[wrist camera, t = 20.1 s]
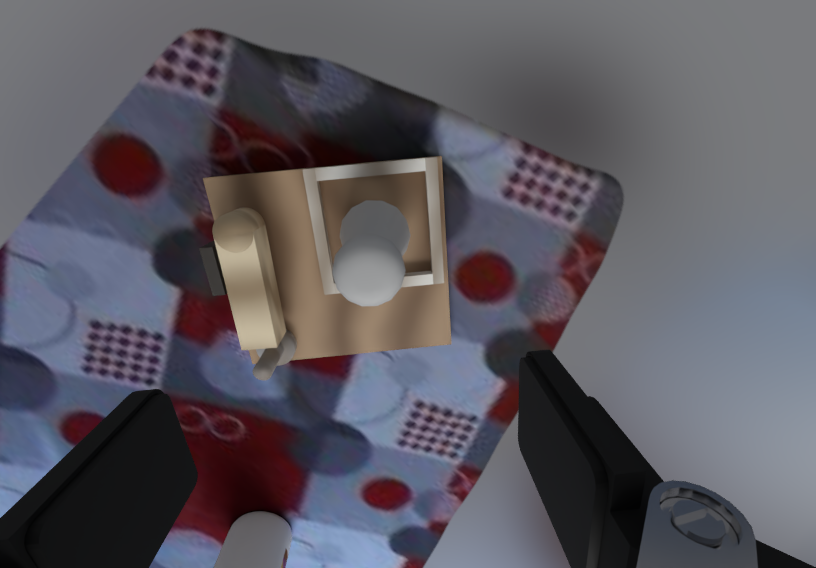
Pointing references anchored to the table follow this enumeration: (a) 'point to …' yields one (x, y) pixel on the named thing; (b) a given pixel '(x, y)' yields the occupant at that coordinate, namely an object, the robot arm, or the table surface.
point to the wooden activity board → (320, 241)
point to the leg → (249, 278)
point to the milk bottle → (256, 542)
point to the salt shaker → (371, 253)
